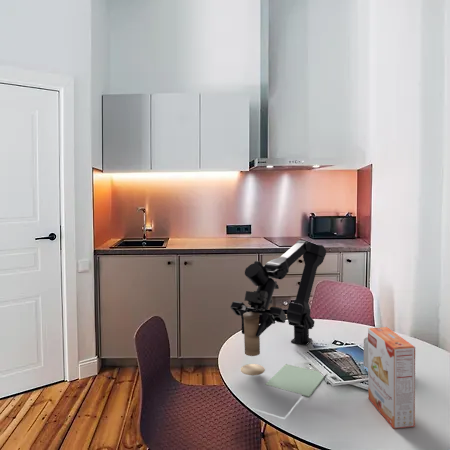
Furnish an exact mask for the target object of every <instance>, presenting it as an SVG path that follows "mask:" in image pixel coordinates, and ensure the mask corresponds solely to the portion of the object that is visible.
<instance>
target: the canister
mask: <svg viewBox="0 0 450 450" xmlns="http://www.w3.org/2000/svg"><path fill="white" fill-rule="evenodd" d="M260 316H261V315H260V314H259V313H257V312H246V313H244V314H243V317H244V334H243V337H244V338H243V340H244V341H243V342H244V355H246V356H247V357H248V356H249V357H255V356H256V357H257V356H260V354H261V345H260V344H261V343H260V342H261V340H260V339H261V338H260V337H261V335H260V336H259V337H257V336H256V334H257V330H258V328H259V325H260Z"/></svg>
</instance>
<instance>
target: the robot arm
mask: <svg viewBox="0 0 450 450" xmlns="http://www.w3.org/2000/svg"><path fill="white" fill-rule="evenodd" d="M326 255H327V250H326V248H325V246H324V245H322V244H317V243H314V242H313V243H312V242H311V241H309V240H302V239H301V240H300V239H299V240H297V241H295V243H294V245H292V246H291V247H290V248H289V249H288V250H286V252H284V253H283V254H281V256H279V257H276V258H272V259H271V260H269V261H267V262H266V263H265V264H264V265H263V264H262V263H261V261H260V260H255V261H254V262H253V263H252V264H249V265H248V266H247V267H245V270H244V275H245V277H246V278H247V279H248V280H249V281H250V283H252V284H253V286H255V287H257V288H256V289H255V290H253V291H251V290H250V291H249V290H246V291H245V295H244V302H242V301H235V300H234V301H232V303H231V304H230V309H231V310H232V311H233V313H234V314H235V315H236V316H238V317H241V334H243V335H244V317H243V314H244V313H246V312H257V313H259V314H260V316H261V320H260V321H259V328H258V330H257V334H256V336H257V337H259V336H260V337H261V335H262V334H264V332H265V331H266V330H267V329H268V328H269V327H270V326H271V325H273V324H276V323H281V324H284V323H286V319H287V323H288V325H289V326H293V338H292V339H291V340H290V343H293V344H299V345H303V346H307V345H308V344H309V343H311V341H313V338H311V337H310V330H313V328H314V327H315V320H314V318H312V316H311V308H310V304H309V301H310V298H311V294H312V289H313V287H314V282H315V278H316V274H317V271H318V268H319V267H320V266H321V265H322V264H323V262H324V260H325V257H326ZM301 257H302V259H303V263H304V267H303V270H302V274H301V277H300V278H301V279H300V282H299V285H298V288H297V289H298V290H297V293H296V297H295V299H294V301H293V302H291V301H290V302H289V303H288V307H287V309H286V313H285V311H284V310H283V308H282V307H278V306H271V307H269V306H270V304H272V303H273V300H272V298H273V294H274V292H275V290H279V288H280V287H279V285H278V283H277V281H276V280H280V281H281V280H283V279H284V278H285V277H286V275H287V274H288V273H289V271H290V267H291V266H292V265H293V264H294V263H295V262H296V261H297V260H299V259H300V258H301ZM274 279H276V280H274ZM245 302H247V304H248V305H249V306H247V305H245ZM308 342H309V343H308ZM307 343H308V344H307ZM306 344H307V345H306Z"/></svg>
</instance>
